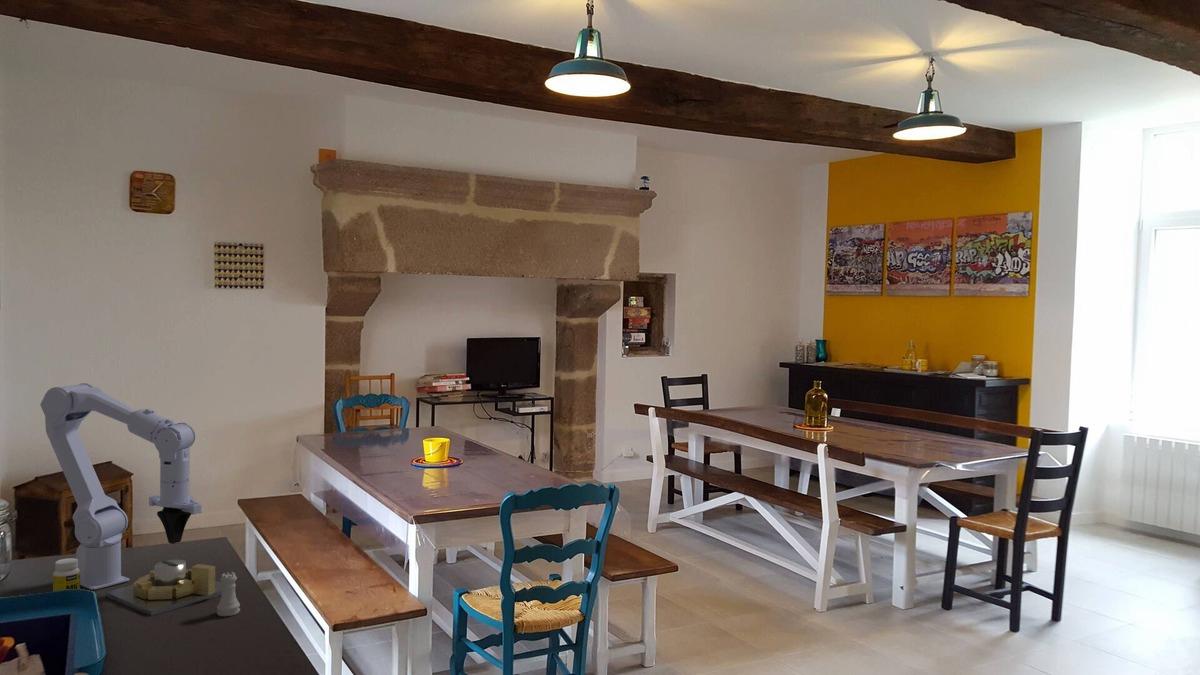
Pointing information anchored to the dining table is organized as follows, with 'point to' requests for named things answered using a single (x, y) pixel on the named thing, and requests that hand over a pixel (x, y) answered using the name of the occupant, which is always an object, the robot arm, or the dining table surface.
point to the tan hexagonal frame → (178, 584)
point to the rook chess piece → (228, 596)
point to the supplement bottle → (66, 574)
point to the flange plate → (158, 603)
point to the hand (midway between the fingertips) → (174, 542)
